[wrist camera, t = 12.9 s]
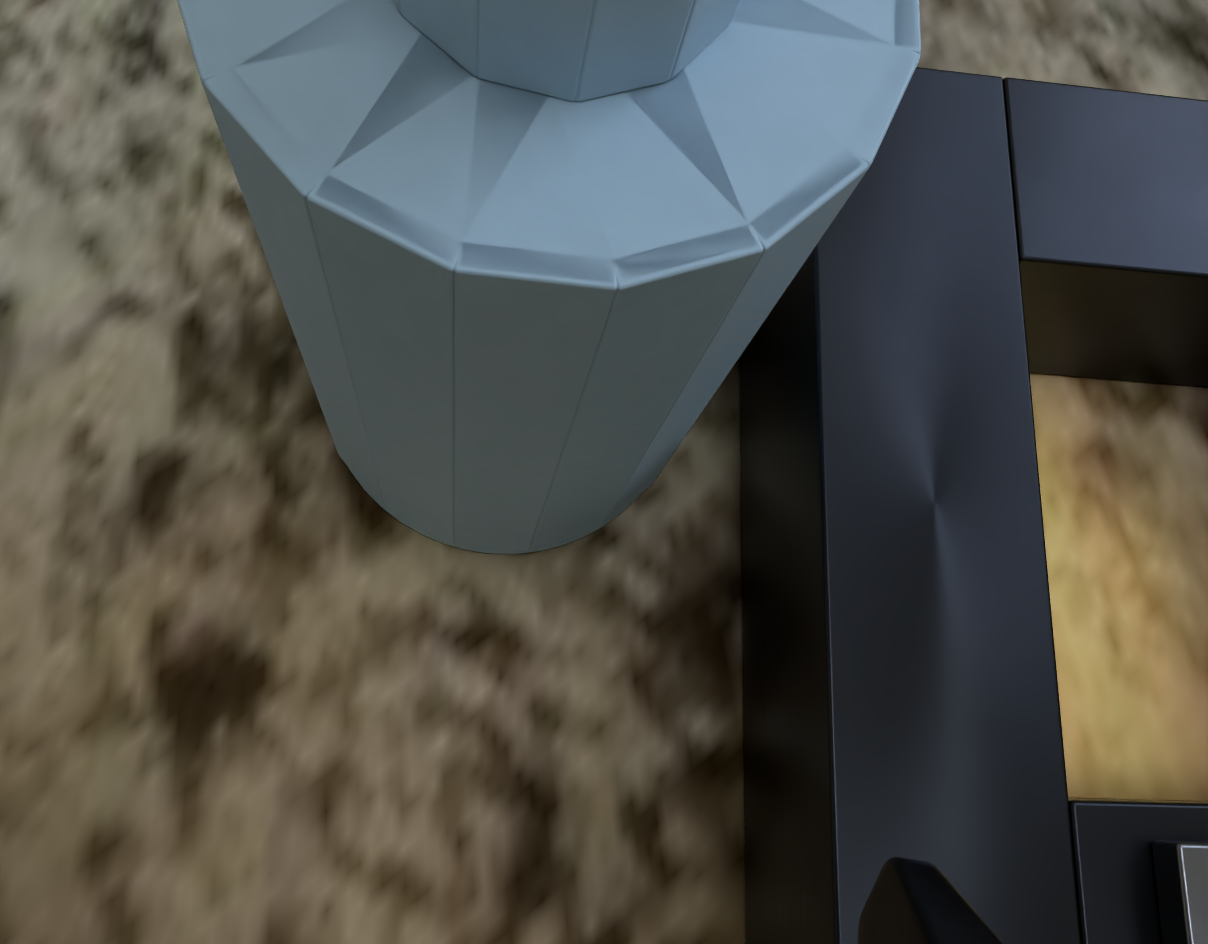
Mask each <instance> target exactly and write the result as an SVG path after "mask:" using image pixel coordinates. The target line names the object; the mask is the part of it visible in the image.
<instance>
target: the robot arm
mask: <svg viewBox="0 0 1208 944" xmlns="http://www.w3.org/2000/svg"><path fill="white" fill-rule="evenodd" d="M858 944H1003V943H1002V941H1001V940H1000V939H999V938H998V937H997V936H996V934H995V933H994V932H993V931H992V930H991V929H990V927H989V926H988V925H987V924H986V923H985V922H984V921H983V919H982V918H981V917H980V916H979V915H978V914H977V912H976V911H975V910H974V909H973V908H972V907H971V905H970V904H969V903H968V902H967V901H966V900H965V898H964V897H963V896H962V895H961V894H960V893H959V891H958V890H957V889H956V888H955V887H954V886H953V885H952V883H951V882H950V881H949V880H948V879H947V878H946V876H945V875H944V874H943V873H942V872H941V871H940V870H939V869H938V868H937V867H936V866H935V865H933V864H932V863H930V862H927V861H921V860H914V859H908V858H901V857H892V858H890V859H889V860H887V861H886V862H885V864H884V865H883V867H882V869H881V871H880V873H879V876H878V878H877V880H876V882H875V884H874V886H873V888H872V891H871V893H870V895H869V897H868V899H867V901H866V903H865V906H864V908H863V910H862V913H861V915H860V919H859V925H858Z"/></svg>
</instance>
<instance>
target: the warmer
mask: <svg viewBox="0 0 1208 944" xmlns="http://www.w3.org/2000/svg"><path fill="white" fill-rule="evenodd" d="M1029 372H1030V373H1043V374H1055V375H1068V376H1080V377H1093V378H1105V379H1118V380H1130V381H1143V382H1156V383H1168V384H1181V385H1193V386H1206V387H1208V101H1206V100H1197V99H1189V98H1180V97H1171V96H1163V95H1154V94H1145V93H1137V92H1128V91H1119V90H1111V89H1102V88H1094V87H1085V86H1076V85H1068V84H1059V83H1050V82H1042V81H1033V80H1025V79H1016V78H1004V79H1002V78H1001V77H996V76H988V75H979V74H970V73H962V72H953V71H945V70H936V69H927V68H919V67H916V69H915V71H914V73H913V75H912V77H911V80H910V82H909V84H908V86H907V88H906V90H905V93H904V95H903V97H902V99H901V101H900V103H899V106H898V108H897V110H896V112H895V114H894V117H893V119H892V121H891V123H890V125H889V127H888V130H887V132H886V134H885V136H884V138H883V140H882V143H881V145H880V147H879V149H878V151H877V154H876V156H875V158H874V160H873V162H872V164H871V166H870V167H869V169H868V170H867V172H866V173H865V175H864V176H863V178H862V179H861V180H860V182H859V183H858V185H857V186H856V188H855V189H854V191H853V192H852V194H851V195H850V197H849V198H848V199H847V201H846V202H845V204H844V205H843V207H842V208H841V210H840V211H839V213H838V214H837V215H836V217H835V218H834V220H833V221H832V223H831V224H830V226H829V227H828V229H827V230H826V232H825V233H824V234H823V236H822V237H821V239H820V240H819V242H818V243H817V245H816V246H815V248H814V249H813V251H812V252H811V253H810V255H809V256H808V258H807V259H806V261H805V262H804V264H803V265H802V267H801V268H800V269H799V271H798V272H797V274H796V275H795V277H794V278H793V280H792V281H791V283H790V284H789V286H788V287H787V288H786V290H785V291H784V293H783V294H782V296H781V297H780V299H779V300H778V302H777V303H776V305H775V306H774V307H773V309H772V310H771V312H770V313H769V315H768V316H767V318H766V319H765V321H764V322H763V324H762V325H761V326H760V328H759V329H758V331H757V332H756V334H755V335H754V337H753V338H752V340H751V341H750V342H749V344H748V345H747V347H746V348H745V350H744V351H743V353H742V354H741V356H740V381H741V491H742V601H743V711H744V821H745V931H746V944H858V925H859V919H860V915H861V913H862V910H863V908H864V906H865V903H866V901H867V899H868V897H869V895H870V893H871V891H872V888H873V886H874V884H875V882H876V880H877V878H878V876H879V873H880V871H881V869H882V867H883V865H884V864H885V862H886V861H887V860H889V859H890V858H892V857H901V858H908V859H914V860H921V861H927V862H930V863H932V864H933V865H935V866H936V867H937V868H938V869H939V870H940V871H941V872H942V873H943V874H944V875H945V876H946V878H947V879H948V880H949V881H950V882H951V883H952V885H953V886H954V887H955V888H956V889H957V890H958V891H959V893H960V894H961V895H962V896H963V897H964V898H965V900H966V901H967V902H968V903H969V904H970V905H971V907H972V908H973V909H974V910H975V911H976V912H977V914H978V915H979V916H980V917H981V918H982V919H983V921H984V922H985V923H986V924H987V925H988V926H989V927H990V929H991V930H992V931H993V932H994V933H995V934H996V936H997V937H998V938H999V939H1000V940H1001V941H1002V943H1003V944H1208V801H1180V800H1144V799H1108V798H1072V797H1068V792H1067V781H1066V770H1065V759H1064V748H1063V737H1062V726H1061V715H1060V704H1059V693H1058V682H1057V671H1056V660H1055V649H1054V638H1053V627H1052V616H1051V605H1050V594H1049V583H1048V572H1047V561H1046V550H1045V538H1044V527H1043V516H1042V505H1041V494H1040V483H1039V472H1038V461H1037V450H1036V439H1035V428H1034V417H1033V406H1032V395H1031V384H1030V373H1029Z"/></svg>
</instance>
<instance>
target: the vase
mask: <svg viewBox="0 0 1208 944" xmlns="http://www.w3.org/2000/svg"><path fill="white" fill-rule="evenodd" d="M177 1H178V5H179V8H180V11H181V15H182V18H183V22H184V25H185V28H186V32H187V35H188V39H189V42H190V45H191V49H192V52H193V56H194V59H195V62H196V66H197V69H198V73H199V76H200V79H201V82H202V85H203V87H204V90H205V93H206V96H207V98H208V101H209V104H210V107H211V109H212V112H213V115H214V117H215V120H216V123H217V126H218V128H219V131H220V134H221V137H222V139H223V142H224V145H225V147H226V150H227V153H228V156H229V158H230V161H231V164H232V166H233V169H234V172H235V175H236V177H237V180H238V183H239V186H240V188H241V191H242V194H243V196H244V199H245V202H246V205H247V207H248V210H249V213H250V216H251V218H252V221H253V224H254V226H255V229H256V232H257V235H258V237H259V240H260V243H261V245H262V248H263V251H264V254H265V256H266V259H267V262H268V265H269V267H270V270H271V273H272V275H273V278H274V281H275V284H276V286H277V289H278V292H279V295H280V297H281V300H282V303H283V305H284V308H285V311H286V314H287V316H288V319H289V322H290V324H291V327H292V330H293V333H294V335H295V338H296V341H297V344H298V346H299V349H300V352H301V354H302V357H303V360H304V363H305V365H306V368H307V371H308V374H309V376H310V379H311V382H312V384H313V387H314V390H315V393H316V395H317V398H318V401H319V403H320V406H321V409H322V412H323V414H324V417H325V420H326V423H327V425H328V428H329V431H330V433H331V436H332V439H333V442H334V444H335V447H336V450H337V452H338V454H339V456H340V458H341V459H342V460H343V461H344V462H345V464H346V465H347V466H348V468H349V470H350V471H351V473H352V474H353V475H354V477H355V478H356V479H357V481H358V482H359V483H360V485H361V486H362V487H363V489H364V490H365V491H366V492H367V493H368V494H369V495H370V496H371V497H372V498H373V499H374V500H375V501H376V502H377V503H378V504H379V505H380V506H381V507H382V508H383V509H384V510H386V511H387V512H388V513H389V514H391V515H392V516H393V517H395V518H396V519H397V520H398V521H400V522H401V523H403V524H405V525H406V526H408V527H410V528H412V529H413V530H415V531H417V532H418V533H420V534H422V535H424V536H427V537H429V538H431V539H434V540H436V541H439V542H441V543H443V544H447V545H450V546H454V547H458V548H461V549H465V550H470V551H477V552H484V553H490V554H519V553H528V552H537V551H542V550H546V549H550V548H554V547H558V546H562V545H565V544H568V543H570V542H573V541H575V540H578V539H580V538H583V537H585V536H587V535H589V534H591V533H592V532H594V531H596V530H598V529H600V528H602V527H603V526H605V525H606V524H608V523H609V522H610V521H612V520H613V519H614V518H616V517H617V516H618V515H620V514H621V513H622V512H624V511H625V510H626V509H627V508H628V507H629V506H630V505H631V504H632V503H633V502H634V501H635V500H636V499H637V498H638V497H639V496H640V494H641V493H643V492H644V491H645V490H646V489H647V488H648V487H650V486H651V485H652V484H653V482H654V481H655V480H656V478H657V477H658V475H659V474H660V472H661V471H662V469H663V468H664V467H665V465H666V464H667V462H668V461H669V459H670V458H671V456H672V455H673V453H674V452H675V451H676V449H677V448H678V446H679V445H680V443H681V442H682V440H683V439H684V437H685V436H686V434H687V433H688V432H689V430H690V429H691V427H692V426H693V424H694V423H695V421H696V420H697V418H698V417H699V415H700V414H701V413H702V411H703V410H704V408H705V407H706V405H707V404H708V402H709V401H710V399H711V398H712V396H713V395H714V394H715V392H716V391H717V389H718V388H719V386H720V385H721V383H722V382H723V380H724V379H725V378H726V376H727V375H728V373H729V372H730V370H731V369H732V367H733V366H734V364H735V363H736V361H737V360H738V359H739V357H740V356H741V354H742V353H743V351H744V350H745V348H746V347H747V345H748V344H749V342H750V341H751V340H752V338H753V337H754V335H755V334H756V332H757V331H758V329H759V328H760V326H761V325H762V324H763V322H764V321H765V319H766V318H767V316H768V315H769V313H770V312H771V310H772V309H773V307H774V306H775V305H776V303H777V302H778V300H779V299H780V297H781V296H782V294H783V293H784V291H785V290H786V288H787V287H788V286H789V284H790V283H791V281H792V280H793V278H794V277H795V275H796V274H797V272H798V271H799V269H800V268H801V267H802V265H803V264H804V262H805V261H806V259H807V258H808V256H809V255H810V253H811V252H812V251H813V249H814V248H815V246H816V245H817V243H818V242H819V240H820V239H821V237H822V236H823V234H824V233H825V232H826V230H827V229H828V227H829V226H830V224H831V223H832V221H833V220H834V218H835V217H836V215H837V214H838V213H839V211H840V210H841V208H842V207H843V205H844V204H845V202H846V201H847V199H848V198H849V197H850V195H851V194H852V192H853V191H854V189H855V188H856V186H857V185H858V183H859V182H860V180H861V179H862V178H863V176H864V175H865V173H866V172H867V170H868V169H869V167H870V166H871V164H872V162H873V160H874V158H875V156H876V154H877V151H878V149H879V147H880V145H881V143H882V140H883V138H884V136H885V134H886V132H887V130H888V127H889V125H890V123H891V121H892V119H893V117H894V114H895V112H896V110H897V108H898V106H899V103H900V101H901V99H902V97H903V95H904V93H905V90H906V88H907V86H908V84H909V82H910V80H911V77H912V75H913V73H914V71H915V69H916V66H917V64H918V62H919V60H920V54H921V38H920V11H919V0H177Z"/></svg>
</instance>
